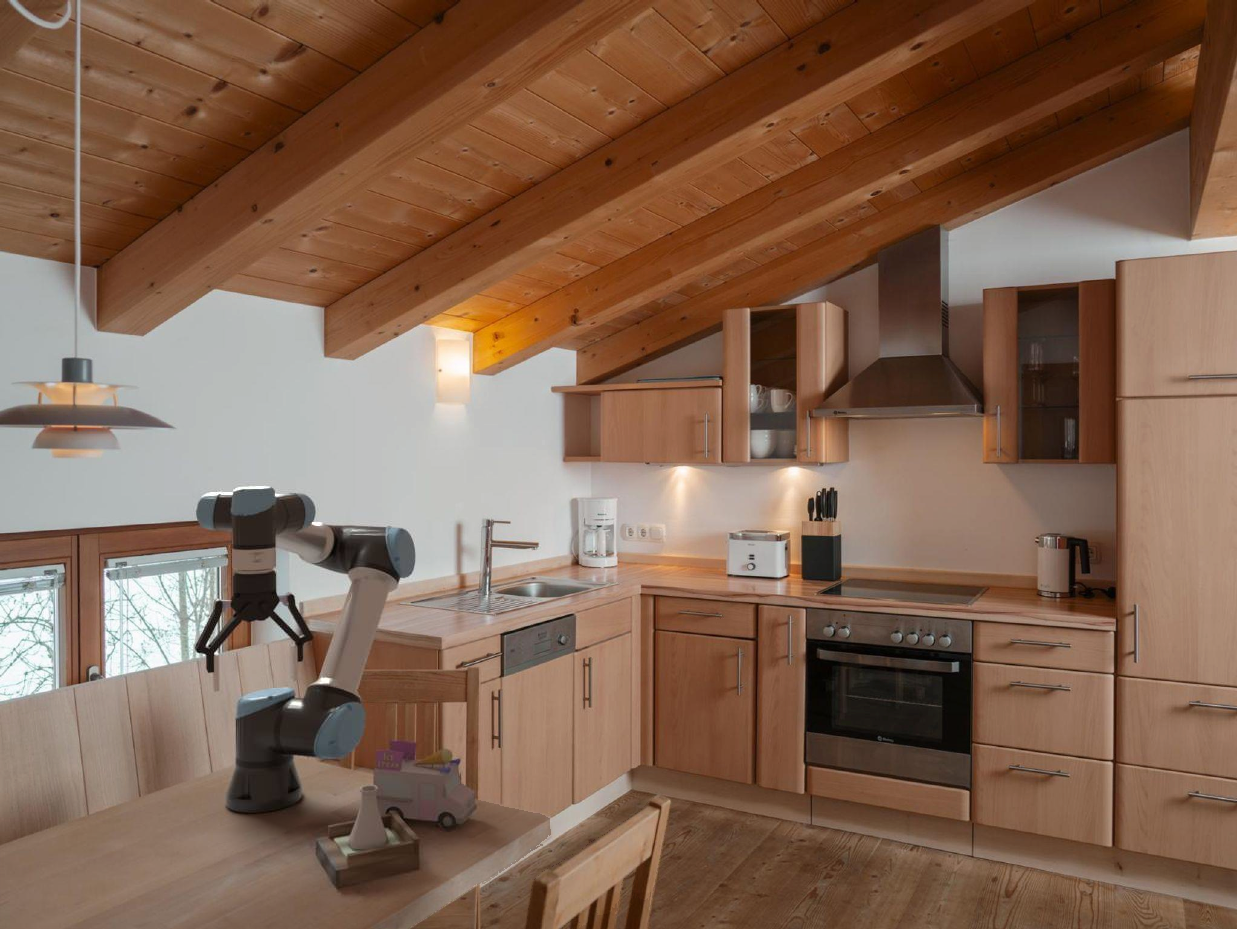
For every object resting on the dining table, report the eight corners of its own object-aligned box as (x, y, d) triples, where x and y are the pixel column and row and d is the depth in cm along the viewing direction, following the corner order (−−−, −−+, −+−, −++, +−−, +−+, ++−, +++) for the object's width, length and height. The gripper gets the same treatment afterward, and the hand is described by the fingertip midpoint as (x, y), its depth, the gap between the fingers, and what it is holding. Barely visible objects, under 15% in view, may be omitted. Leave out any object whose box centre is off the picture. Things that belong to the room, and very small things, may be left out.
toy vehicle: (461, 835, 177) (462, 758, 177) (368, 825, 181) (370, 750, 181) (477, 817, 186) (479, 744, 186) (389, 808, 190) (390, 736, 190)
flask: (389, 849, 162) (390, 793, 162) (346, 853, 160) (347, 796, 160) (388, 833, 169) (389, 779, 169) (347, 836, 167) (348, 782, 167)
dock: (315, 854, 167) (316, 824, 167) (393, 838, 174) (394, 810, 174) (335, 888, 154) (336, 856, 154) (419, 869, 162) (419, 838, 162)
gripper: (181, 578, 158) (183, 699, 158) (328, 568, 170) (329, 679, 171) (177, 573, 164) (179, 688, 165) (319, 563, 177) (320, 670, 177)
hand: (255, 684), depth 168 cm, fingers open, 13 cm apart
